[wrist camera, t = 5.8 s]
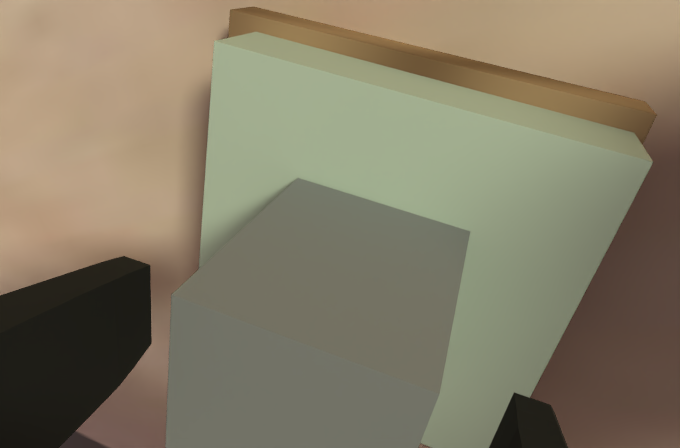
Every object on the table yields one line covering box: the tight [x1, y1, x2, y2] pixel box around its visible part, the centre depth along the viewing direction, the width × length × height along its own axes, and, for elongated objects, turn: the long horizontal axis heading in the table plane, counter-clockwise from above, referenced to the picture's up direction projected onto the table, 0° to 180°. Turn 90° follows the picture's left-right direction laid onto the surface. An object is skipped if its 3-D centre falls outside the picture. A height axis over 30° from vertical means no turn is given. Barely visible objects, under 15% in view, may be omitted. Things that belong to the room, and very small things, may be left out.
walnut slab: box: [228, 7, 657, 144], centre depth 15 cm, size 10×10×2 cm
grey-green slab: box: [199, 32, 653, 448], centre depth 13 cm, size 9×9×2 cm
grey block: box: [165, 178, 470, 448], centre depth 10 cm, size 4×4×5 cm
